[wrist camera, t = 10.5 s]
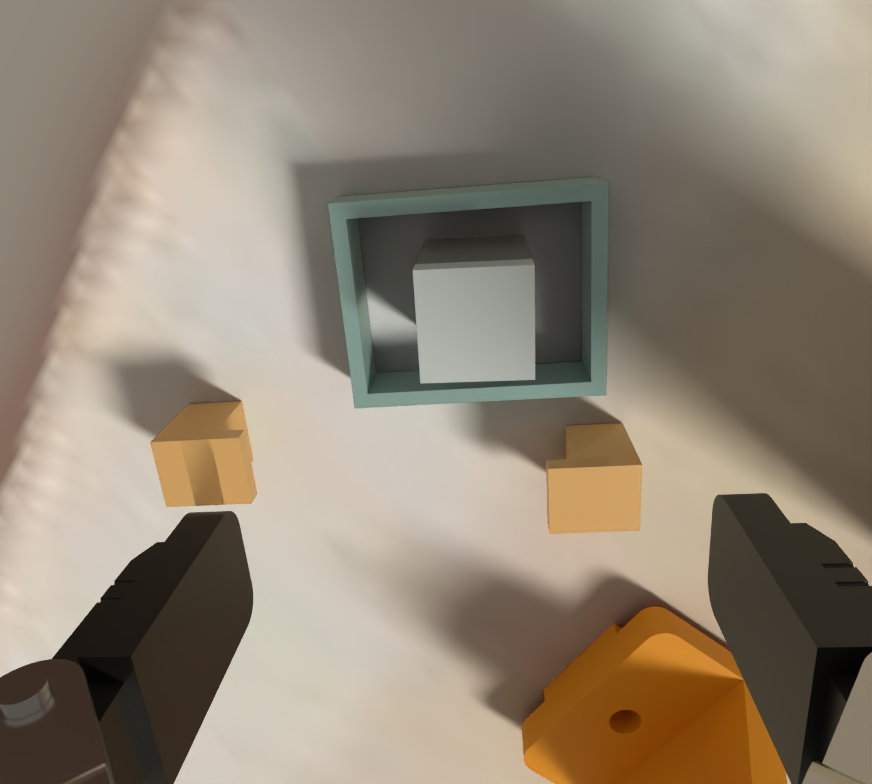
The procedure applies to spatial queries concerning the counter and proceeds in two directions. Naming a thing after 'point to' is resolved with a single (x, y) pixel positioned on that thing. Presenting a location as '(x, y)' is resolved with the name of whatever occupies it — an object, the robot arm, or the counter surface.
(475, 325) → the block
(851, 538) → the counter surface
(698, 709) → the bracket
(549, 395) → the tray
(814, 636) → the robot arm
